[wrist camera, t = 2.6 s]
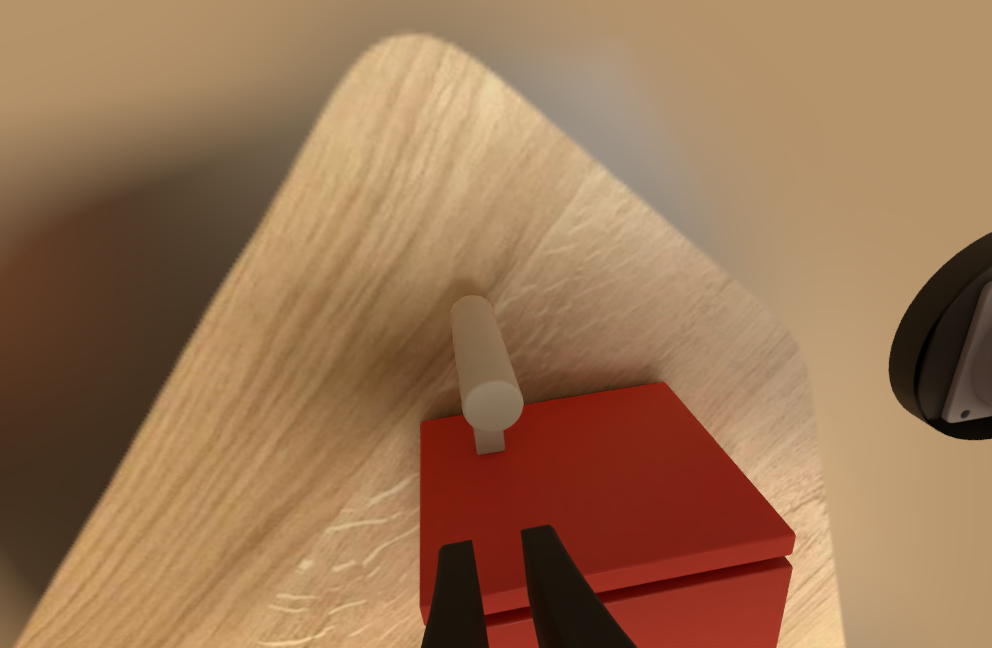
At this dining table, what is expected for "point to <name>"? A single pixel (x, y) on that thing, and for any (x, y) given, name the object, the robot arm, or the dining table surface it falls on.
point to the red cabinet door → (579, 480)
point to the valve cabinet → (681, 610)
